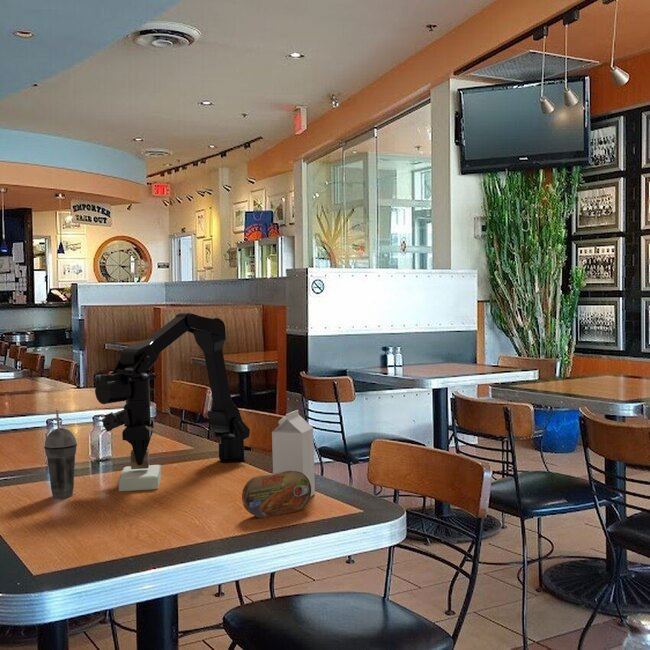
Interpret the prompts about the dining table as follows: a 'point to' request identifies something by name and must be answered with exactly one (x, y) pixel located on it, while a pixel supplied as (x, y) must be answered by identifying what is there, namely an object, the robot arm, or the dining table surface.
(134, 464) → the walnut block
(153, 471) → the plinth
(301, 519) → the dining table surface
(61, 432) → the beverage cup
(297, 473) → the tin
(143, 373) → the robot arm
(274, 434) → the milk carton
